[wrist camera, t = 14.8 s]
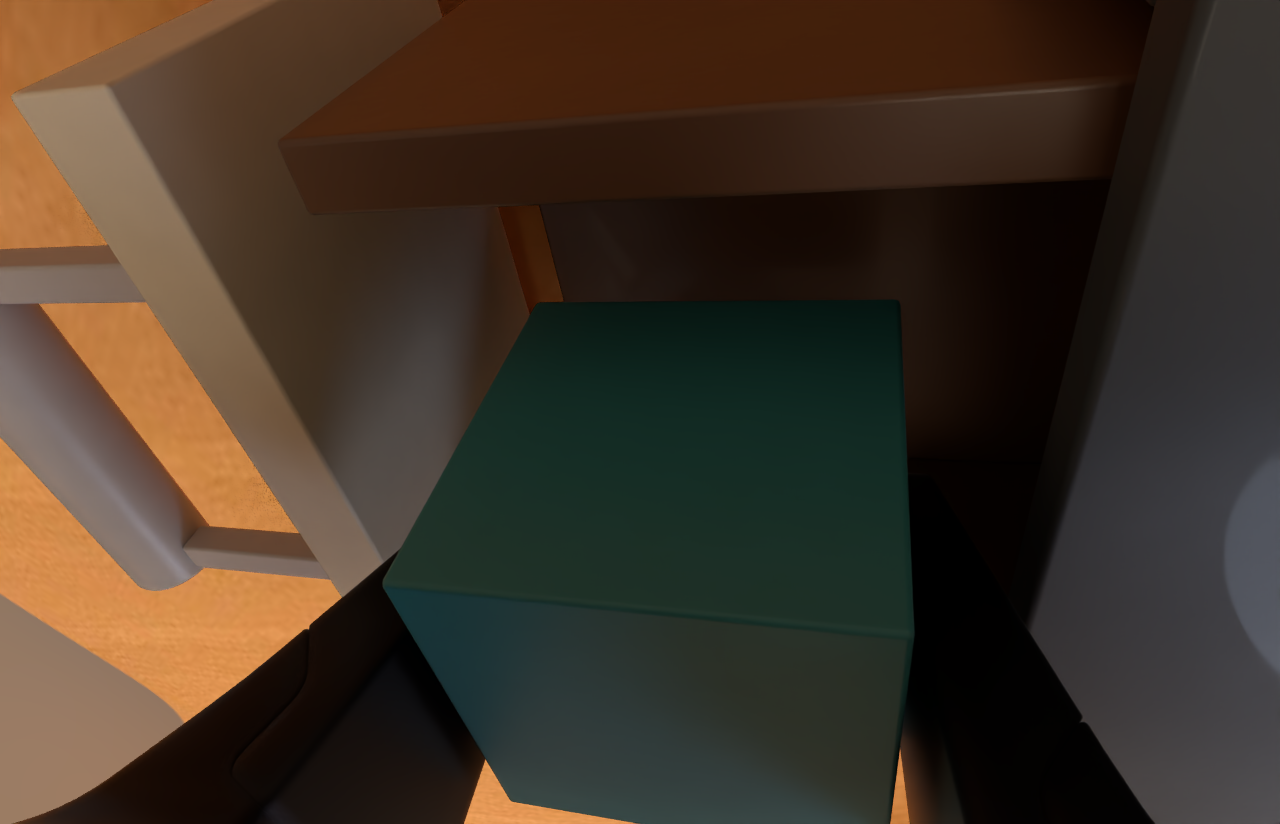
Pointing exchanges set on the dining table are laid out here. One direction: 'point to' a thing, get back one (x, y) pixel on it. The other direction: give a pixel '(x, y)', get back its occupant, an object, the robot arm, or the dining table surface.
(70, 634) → the dining table surface
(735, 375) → the block
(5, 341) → the drawer
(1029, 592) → the cabinet
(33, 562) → the dining table surface
